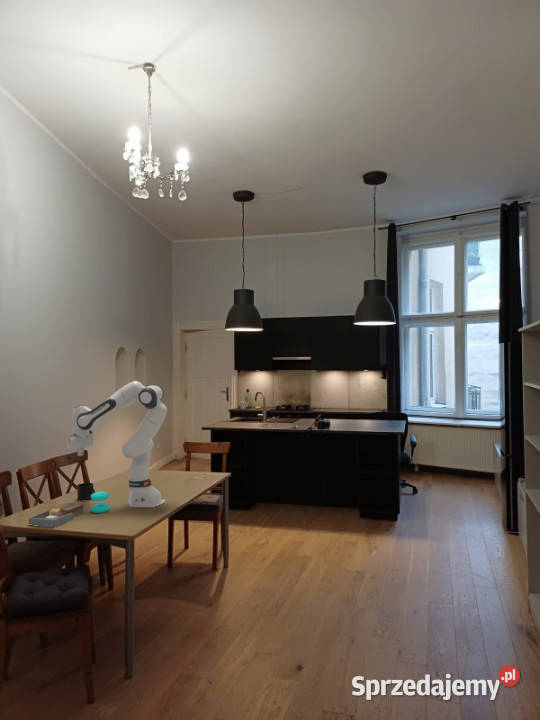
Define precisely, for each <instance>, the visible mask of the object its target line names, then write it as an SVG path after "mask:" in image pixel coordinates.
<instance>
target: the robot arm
mask: <svg viewBox="0 0 540 720" xmlns="http://www.w3.org/2000/svg"><path fill="white" fill-rule="evenodd" d="M164 395H165V391H164V388H163V387H162V386H161V385H158V384H147V385H146V386H144V385H143V383H141V382H140V381H139V380H133V381H131V382H128V383H127V384H125V385H124V386H122V387H120V388H119V389H118V390H116V391H115V392H114V393H113V394H112V395H111V396H110V397H108V398H107V399H105V401H103V402H102V403H100V404H99V405H97V406H96V407H94V408H92V409H90V408H89V407H88V406H86V405H79V406H76V407H74V408H73V409H72V411H71V423H72V426H71V428H72V429H71V433H72V434H69V436H68V437H67V442H66V450H67V451H76V453H77V456H78V457H81V456H84V452H85V448H88V447H91V446H93V445H94V430H93V429H92V428H96V427H100V425H102V424H103V422H104V416H105V415H106V414H107V413H110V412H113V411H117V410H120V409H125V408H126V407H129V406H130V405H131V404H133V403H134V402H136V401H137V400H139V402H140V404H141V405H143V406H144V407H145V408H146V409H147V412H146V413H145V415H144V417H143V419H142V421H141V422H140V424H139V425H138V428H137V429H136V430H135V431H134V432H133V433H132V434H131V436H130V437H129V439H128V440H127V441H126V442H124V443H123V445H122V449H121V452H122V454H123V456H124V457H125V458H128V459H132V460H131V462H130V464H129V469H128V470H129V471H128V472H129V473H128V474H129V480H128V487H129V488H128V489H129V494H128V500H127V502H126V503H127V505H128V506H129V507H130V508H157V507H159V505H160V506H162V505H164V504H165V503H166V502H165V501H166V499H162V493H161V492H160V490H158V489H157V488H156V487H154V485H152V483H153V480H151V479H150V478H149V477H150V475H149V465H150V459H151V454H152V451H153V449H154V441H153V438H154V437H156V435H157V434H158V432H159V430H160V429H161V426H162V425H163V422H164V421H165V419H166V416H167V414H168V408H167V406H166V405H165V404H164V403H163V402H162V401H161V400H163V398H164ZM163 503H164V504H163ZM161 504H162V505H161ZM156 506H157V507H156Z"/></svg>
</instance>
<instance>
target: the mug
mask: <svg viewBox="0 0 540 720" xmlns="http://www.w3.org/2000/svg"><path fill="white" fill-rule="evenodd" d="M76 486H77V487H76V488H77V493H76V494H77V495H76V496H77V501H79V500H87V501H91V500H92V499H91V495H92V494H93V493H96V491H95V489H94V483H93V482H82V483H79V484H77V485H76Z"/></svg>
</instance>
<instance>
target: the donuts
mask: <svg viewBox="0 0 540 720" xmlns="http://www.w3.org/2000/svg"><path fill="white" fill-rule="evenodd" d="M109 496H110V493H109V492H106V491H98V492H97V491H96V492H95V493H94V492H93V494H92V495H91V500H92V501H94V502H100V501H101V502H102V501H106V500H107V499H109ZM109 510H110V505H109V504H107V503H96V504H94V505H92V506H91V508H90V511H91V512H92V513H95V514H101V513H105V512H107V511H109Z"/></svg>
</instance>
